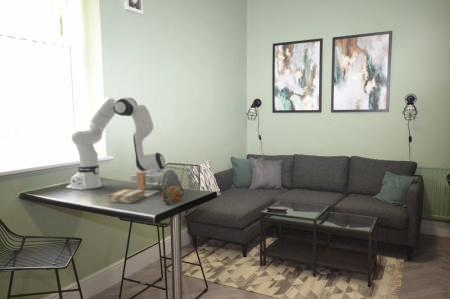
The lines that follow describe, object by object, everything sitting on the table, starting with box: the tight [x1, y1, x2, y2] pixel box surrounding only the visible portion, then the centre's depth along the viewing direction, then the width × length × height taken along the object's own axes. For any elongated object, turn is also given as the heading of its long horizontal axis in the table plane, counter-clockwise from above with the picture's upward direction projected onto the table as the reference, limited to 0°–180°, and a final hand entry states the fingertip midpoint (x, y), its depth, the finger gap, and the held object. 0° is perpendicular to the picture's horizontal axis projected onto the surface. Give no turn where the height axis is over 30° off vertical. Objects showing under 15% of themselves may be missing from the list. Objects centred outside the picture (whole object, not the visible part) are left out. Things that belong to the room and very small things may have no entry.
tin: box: [162, 185, 184, 205], centre depth 198 cm, size 15×3×8 cm, turn 149°
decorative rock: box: [160, 169, 183, 192], centre depth 215 cm, size 16×7×15 cm, turn 150°
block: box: [136, 171, 147, 190], centre depth 221 cm, size 4×4×10 cm
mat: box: [144, 189, 160, 197], centre depth 222 cm, size 16×14×1 cm
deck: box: [108, 189, 146, 204], centre depth 207 cm, size 14×14×4 cm
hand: (140, 179), depth 220 cm, fingers closed on block, 4 cm apart
